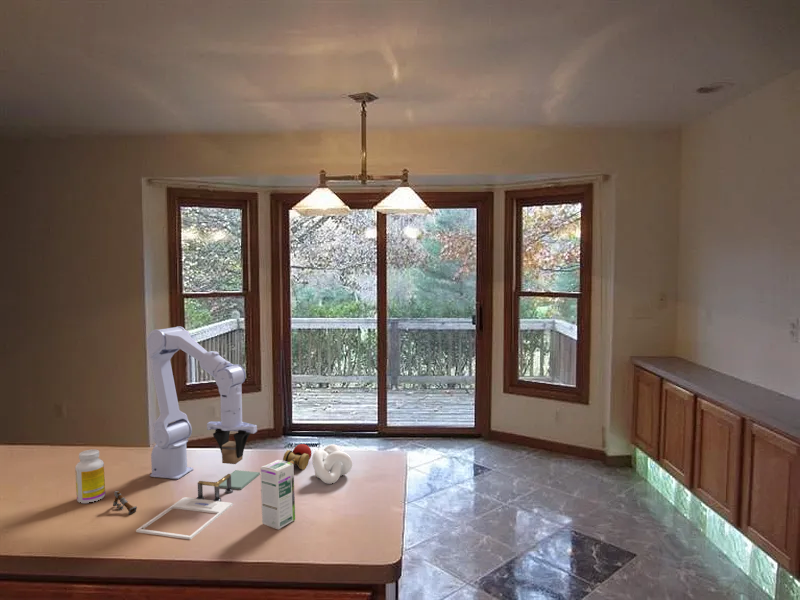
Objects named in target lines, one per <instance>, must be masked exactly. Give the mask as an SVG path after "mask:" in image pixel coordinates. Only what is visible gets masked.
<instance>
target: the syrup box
mask: <svg viewBox="0 0 800 600" xmlns="http://www.w3.org/2000/svg"><path fill="white" fill-rule="evenodd" d="M294 466H295V464H294V465H293V463H290V462H287V461H283V459H276V460H274V461H272V462H270V463H268V464H265V465H262V466H260V467H259V468H260V471H259V472H260V494H261V518H262V519H261V520H262V521H261V523H262V524H263V525H264V526H267V527H269V528H273V529H276V530H281V529H282V528H283V527H285V526H287V525H289V524H290V523H292V522H294V521H295V520H296V503H295V500H296V499H295V473H294V472H295V471H294V468H295V467H294Z"/></svg>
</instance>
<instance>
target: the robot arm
mask: <svg viewBox="0 0 800 600" xmlns="http://www.w3.org/2000/svg"><path fill="white" fill-rule="evenodd" d="M146 345H147V350H148V355H149V362H150V368H151V372H152V378H153V384H154V390H155V393H156V400H157V405H158V409H159V416H158V417H157V419H155V420H154V422H153V425H152V426H153V434H152V435H153V436H152V437H153V441H154V443H155V445H154V446H153V448H152V450H151V454H150V456H151V457H150V458H151V459H150V460H151V474H149V477H150V478H151V477H153V478H161V479H171V480H179V479H180V478H182V477H184V476H186V475H187V474H189V473H190V472H191V471H193V470H194V467H191V466H190V467H189V466H188V459H187V457H188V454H187V451H188V450H187V443H188V442H189V439H190V437H191V436H192V432H193V428H192V424H191V423H190V420H189V418H188V415H187V414H186V413H185V412H183V411H181V410H180V405H179V402H178V401H179V400H178V395H177V391H176V385H175V379H174V375H173V374H174V373H173V369H172V363H171V362H172V361H171V359H172V358H173V356H174V355H175V354H176V353H177V352H178V351H180V350H181V351H183V352H184V353H186V354H187V355H189V356H190V357H192V358H194V359H195V360H197V361H198V362H199V363H198V364H199V367H200V368H201V369H202V370H203V371H205V372H206V373H207V374H209V375H210V376H211V377H213V378H214V381H215V384H216V385H217V388H218V393H219V395H220V396H219V397H220V421H213V420H212V421H208V422H207V423H206V430H207V431H212V430H215V432H213V433H212V436H213V438H214V439H215V440H216V443H217V444H218V447H219V449H220V453H221V454H222V445H224V444H225V443H227V442H229V441H230V432H236V433H235V434H233V438H234V441H235V443H236V454H237V458H240V457H241V456H243V457H244V451H245V446H246V443H247V440H248V438H249V436H250V435H251V434H253V435H254V434H256V433H257V432H258V425H257V424H253V423H248V422H245V421H243V397H242V396H243V393H242V391H243V390H242V387H243V386H242V384H243V383H245V380H246V376H247V374H246V370H245V368H244V367H243V366H242V365H241V364H238V363H236V364H233V363H231V362H230V361H229V360H227V359H225V358H223V357H222V356H221V355H220V353H219V352H218V351H217V350H216V351H214V350H211V351H207V349H206V348H204V347H203V346H201V344H200V343H198V342H197V341H196V340H195V339H193V337H191V335H190V332H189V330H186V329H185V328H184V327H183V326H178V325H177V326H175V327H167V328H160V329H153V330H151V331H150V333H149V334H148V336H147V337H146Z"/></svg>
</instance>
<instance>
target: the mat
mask: <svg viewBox="0 0 800 600" xmlns="http://www.w3.org/2000/svg"><path fill="white" fill-rule="evenodd" d="M229 474H230V475H231V489H233V490H240V489H241V490H243V489H244V488H245V487H246V486H247V485H249V484H250V483H252V481H255V479H256V478H258V477H259V475H260V476H261V472H260V471H258V472H257V471H249V470H248V471H247V470H238V469H237V470H236V469H235V470H234V471H232V472H231V473H229ZM220 488H223V489H227V480H225V481H224V482H223V483H221V484H220V485H219V489H220ZM242 488H243V489H242Z"/></svg>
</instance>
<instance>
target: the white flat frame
mask: <svg viewBox="0 0 800 600" xmlns="http://www.w3.org/2000/svg"><path fill="white" fill-rule="evenodd" d="M233 505H234V503H233V502H227V501H221V502H220V501H213V500H211V499H205V498H204V499H196V498H194V497H186V496H183V497H182V498H180V499H179V500H177V501H176V502H175V503H174V504H172V505H171V506H169V507H168V508H166V509H165V510H163V511H162V512H160V513H159V514H157V515H156V516H154V517H152V519H150V520H148V521H147V522H146V523H144V524H142V525H141V526H139V528H137V529H136V530H135V532H136V533H140V534H146V535H147V534H148V535H153V536H155V535H156V536H163V537H170V538H177V539H184V540H192V539H193V538H194V537H196V536H197V535H198V534H199V533H201V532H202V531H203V530H204V529H205V528H207V527H208V526H209V525H211V524H212V523H213V522H214V521H215V520H216V519H217V518H219V517H220V516H222V515H223V514H224V513H225V512H227V510H228V509H230V508H231V507H232V506H233ZM173 509H176V510H184V511H192V512H201V513H208V514H209V513H210V514H215V515H214V516H212V517H211V518H210V519H209V520H208V521H206V522H205V523H204V524H202V525H201V526H200V527H198V528H197V529H196V530H195V531H193V533H191V534H190V535H187V534H181V533H173V532H167V531H166V532H165V531H159V530H152V529H151V530H150V529H146V528H148V527H149V526H150V525H151V524H153V523H154V522H156V521H158V519H160V518H162V517H163V516H164V515H165V514H167V513H169V512H170V511H171V510H173Z"/></svg>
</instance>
